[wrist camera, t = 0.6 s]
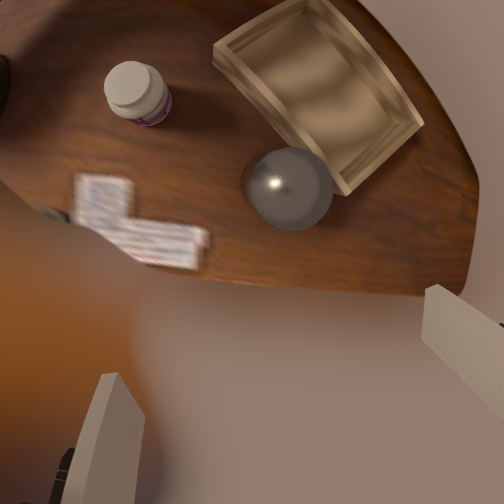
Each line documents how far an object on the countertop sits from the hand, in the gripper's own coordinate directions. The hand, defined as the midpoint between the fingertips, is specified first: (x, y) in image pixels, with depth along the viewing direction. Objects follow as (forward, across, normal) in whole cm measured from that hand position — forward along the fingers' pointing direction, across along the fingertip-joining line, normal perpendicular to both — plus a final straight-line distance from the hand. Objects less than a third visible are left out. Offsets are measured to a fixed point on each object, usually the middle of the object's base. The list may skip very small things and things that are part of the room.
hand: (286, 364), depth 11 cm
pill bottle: (+24, -6, +16) cm, 29 cm away
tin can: (+24, +5, +4) cm, 25 cm away
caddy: (+24, +12, +14) cm, 30 cm away
